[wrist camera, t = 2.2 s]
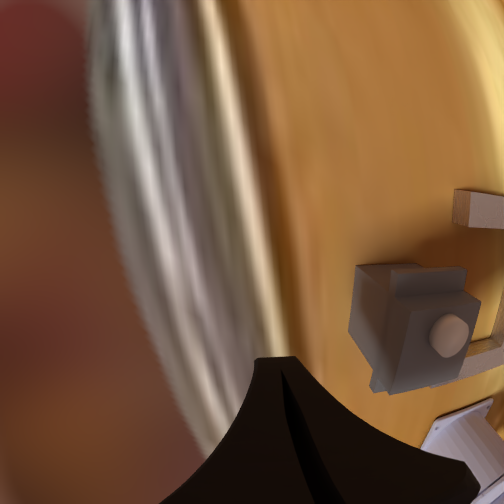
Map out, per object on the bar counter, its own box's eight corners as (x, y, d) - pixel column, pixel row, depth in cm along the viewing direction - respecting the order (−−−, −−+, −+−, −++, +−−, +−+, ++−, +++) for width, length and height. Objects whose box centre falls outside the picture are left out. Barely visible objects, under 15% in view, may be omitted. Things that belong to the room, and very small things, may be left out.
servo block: (402, 338, 17) (458, 402, 10) (345, 345, 17) (390, 423, 10) (418, 246, 16) (498, 285, 9) (357, 247, 15) (427, 293, 9)
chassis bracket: (496, 354, 18) (510, 365, 16) (420, 376, 18) (433, 392, 16) (528, 201, 15) (547, 205, 13) (454, 189, 15) (476, 192, 13)
